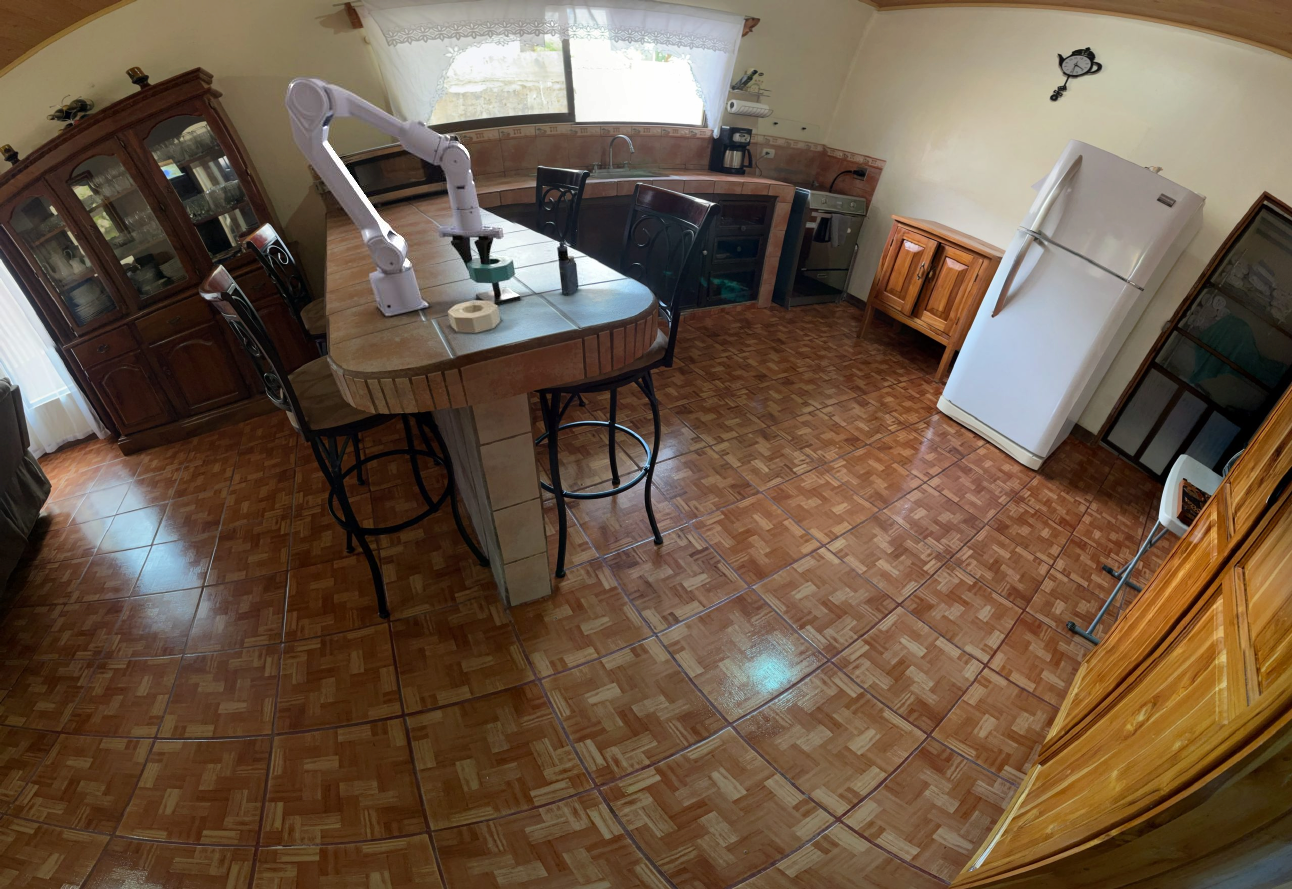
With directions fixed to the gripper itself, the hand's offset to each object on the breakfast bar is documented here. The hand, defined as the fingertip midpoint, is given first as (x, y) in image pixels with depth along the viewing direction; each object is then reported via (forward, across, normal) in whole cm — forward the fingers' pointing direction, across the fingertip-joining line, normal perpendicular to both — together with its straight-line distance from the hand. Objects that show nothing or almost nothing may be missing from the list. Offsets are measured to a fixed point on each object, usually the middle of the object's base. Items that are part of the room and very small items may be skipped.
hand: (478, 269), depth 118 cm
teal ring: (+1, -3, 0) cm, 3 cm away
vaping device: (+7, -20, -6) cm, 22 cm away
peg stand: (+7, -4, 0) cm, 8 cm away
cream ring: (+7, -4, +15) cm, 17 cm away
